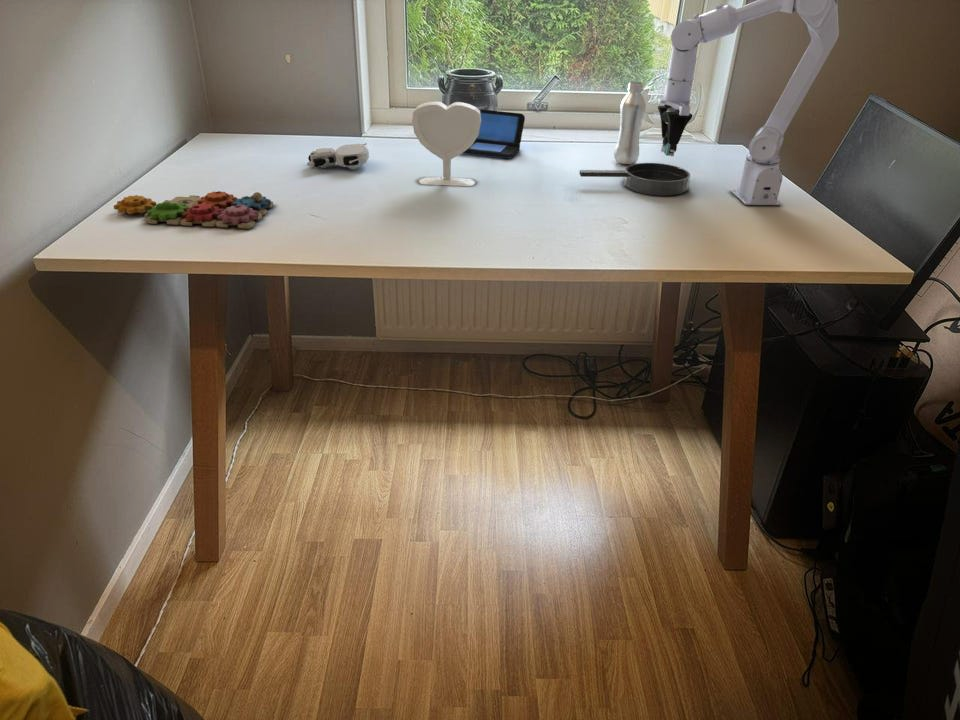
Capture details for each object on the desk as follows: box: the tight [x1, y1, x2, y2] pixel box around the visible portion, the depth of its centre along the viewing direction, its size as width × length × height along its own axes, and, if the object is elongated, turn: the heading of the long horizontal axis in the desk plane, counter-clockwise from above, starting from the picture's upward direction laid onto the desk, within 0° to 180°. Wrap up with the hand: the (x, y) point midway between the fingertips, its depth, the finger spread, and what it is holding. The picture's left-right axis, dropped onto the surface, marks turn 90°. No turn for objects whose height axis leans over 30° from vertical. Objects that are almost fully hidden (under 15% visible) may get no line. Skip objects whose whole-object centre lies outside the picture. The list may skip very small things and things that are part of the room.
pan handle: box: [579, 169, 627, 178], centre depth 163 cm, size 2×11×1 cm, turn 93°
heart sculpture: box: [411, 100, 481, 187], centre depth 160 cm, size 16×5×18 cm, turn 88°
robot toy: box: [306, 143, 370, 170], centre depth 173 cm, size 12×4×15 cm
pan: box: [623, 162, 691, 197], centre depth 165 cm, size 15×15×4 cm
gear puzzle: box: [113, 190, 274, 230], centre depth 142 cm, size 31×16×4 cm, turn 85°
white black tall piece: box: [660, 108, 678, 157], centre depth 161 cm, size 7×5×10 cm
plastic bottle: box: [613, 81, 647, 165], centre depth 176 cm, size 6×7×20 cm
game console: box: [462, 108, 526, 160], centre depth 187 cm, size 16×13×9 cm
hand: (669, 140), depth 162 cm, fingers closed on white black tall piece, 5 cm apart
